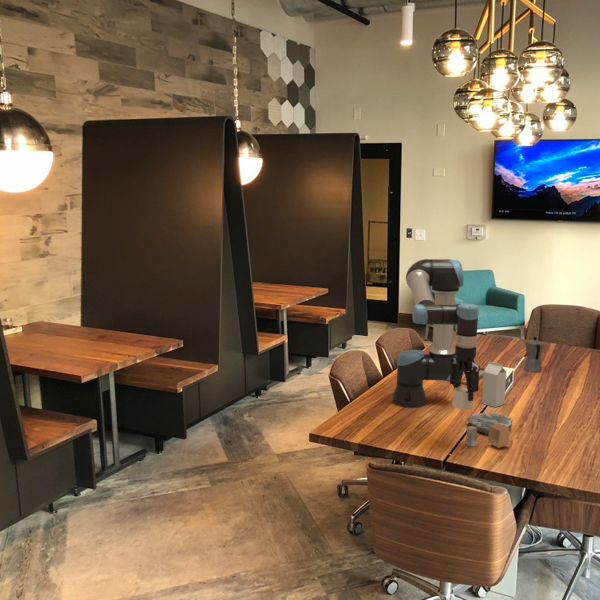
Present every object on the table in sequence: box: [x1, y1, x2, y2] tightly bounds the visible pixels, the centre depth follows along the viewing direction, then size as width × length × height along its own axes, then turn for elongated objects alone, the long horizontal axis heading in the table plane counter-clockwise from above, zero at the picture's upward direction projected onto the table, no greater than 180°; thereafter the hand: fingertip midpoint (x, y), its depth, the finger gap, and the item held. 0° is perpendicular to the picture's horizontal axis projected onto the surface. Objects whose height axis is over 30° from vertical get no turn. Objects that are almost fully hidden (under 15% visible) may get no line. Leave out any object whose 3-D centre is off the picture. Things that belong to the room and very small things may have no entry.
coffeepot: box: [523, 336, 545, 373], centre depth 349 cm, size 15×9×18 cm, turn 175°
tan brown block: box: [487, 424, 511, 449], centre depth 250 cm, size 5×5×8 cm
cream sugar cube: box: [451, 386, 474, 411], centre depth 249 cm, size 5×5×7 cm
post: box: [465, 425, 478, 448], centre depth 251 cm, size 3×3×7 cm
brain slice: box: [466, 412, 514, 436], centre depth 270 cm, size 20×17×3 cm
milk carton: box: [481, 361, 507, 408], centre depth 296 cm, size 7×7×19 cm
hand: (462, 406), depth 249 cm, fingers closed on cream sugar cube, 5 cm apart
